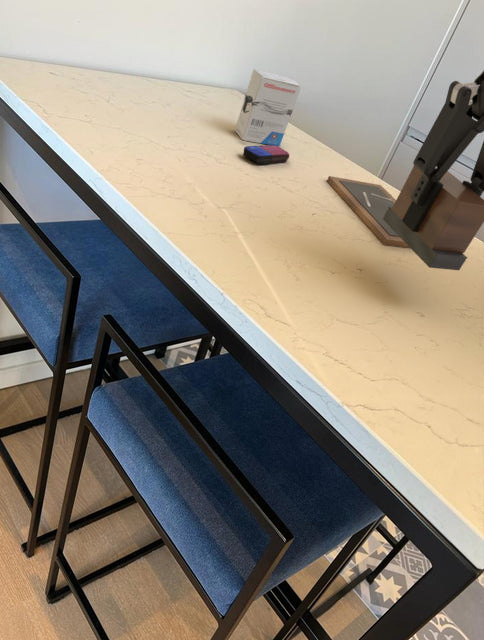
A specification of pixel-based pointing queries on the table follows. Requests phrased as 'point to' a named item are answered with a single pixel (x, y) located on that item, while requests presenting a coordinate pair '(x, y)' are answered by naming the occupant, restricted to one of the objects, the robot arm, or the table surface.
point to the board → (369, 206)
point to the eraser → (266, 154)
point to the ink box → (267, 108)
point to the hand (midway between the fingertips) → (427, 228)
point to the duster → (439, 222)
